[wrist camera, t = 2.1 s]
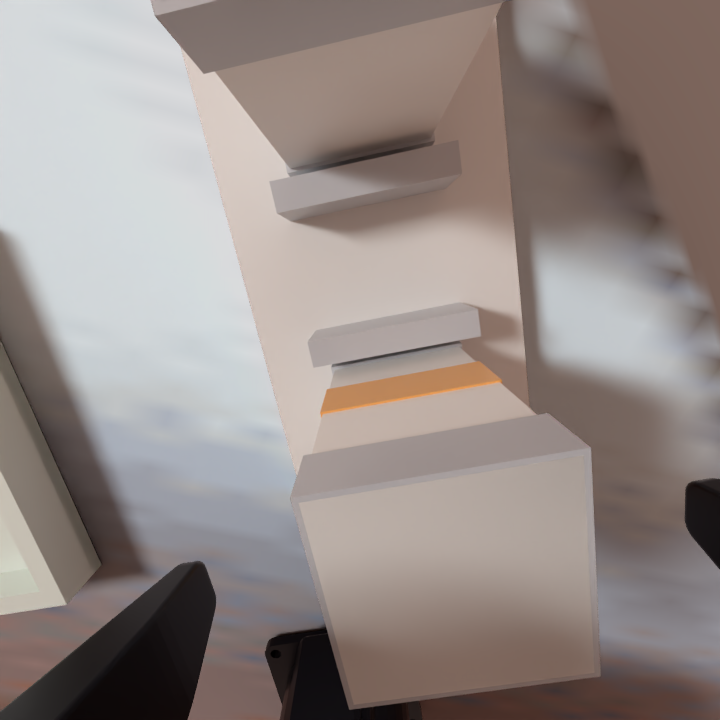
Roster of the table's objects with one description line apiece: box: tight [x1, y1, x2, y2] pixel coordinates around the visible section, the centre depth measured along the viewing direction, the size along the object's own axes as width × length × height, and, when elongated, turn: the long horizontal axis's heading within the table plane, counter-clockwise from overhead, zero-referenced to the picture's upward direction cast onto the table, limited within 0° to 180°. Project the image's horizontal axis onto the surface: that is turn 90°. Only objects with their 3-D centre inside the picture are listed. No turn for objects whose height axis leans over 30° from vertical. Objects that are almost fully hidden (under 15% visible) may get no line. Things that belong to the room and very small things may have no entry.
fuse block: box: [180, 17, 530, 476], centre depth 12 cm, size 18×9×3 cm, turn 11°
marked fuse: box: [290, 341, 601, 710], centre depth 9 cm, size 4×4×8 cm
